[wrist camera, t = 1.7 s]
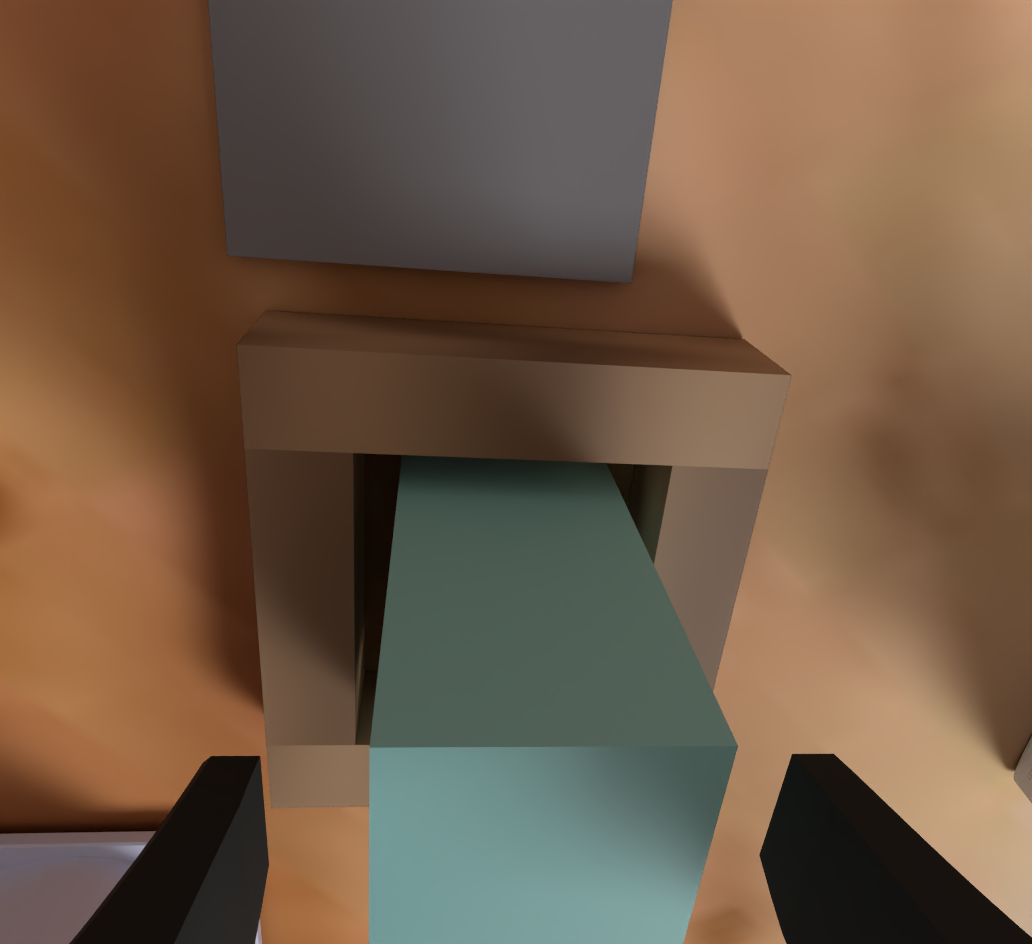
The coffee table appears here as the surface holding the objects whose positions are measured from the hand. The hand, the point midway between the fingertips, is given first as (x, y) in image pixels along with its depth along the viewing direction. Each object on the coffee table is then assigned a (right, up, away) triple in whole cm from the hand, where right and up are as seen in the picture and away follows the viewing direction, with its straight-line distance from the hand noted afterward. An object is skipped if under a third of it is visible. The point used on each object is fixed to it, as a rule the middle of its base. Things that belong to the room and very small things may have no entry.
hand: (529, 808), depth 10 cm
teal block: (-1, +3, +6) cm, 7 cm away
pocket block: (-1, +3, +6) cm, 7 cm away
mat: (-1, +11, +2) cm, 12 cm away
